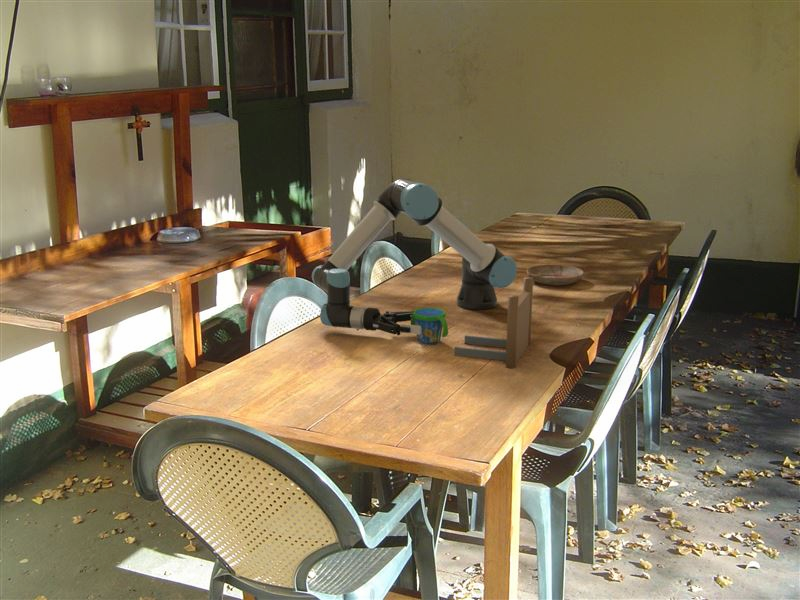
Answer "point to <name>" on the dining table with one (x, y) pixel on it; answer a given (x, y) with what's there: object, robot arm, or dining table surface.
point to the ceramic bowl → (555, 274)
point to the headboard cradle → (515, 331)
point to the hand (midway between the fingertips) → (427, 324)
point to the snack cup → (430, 324)
